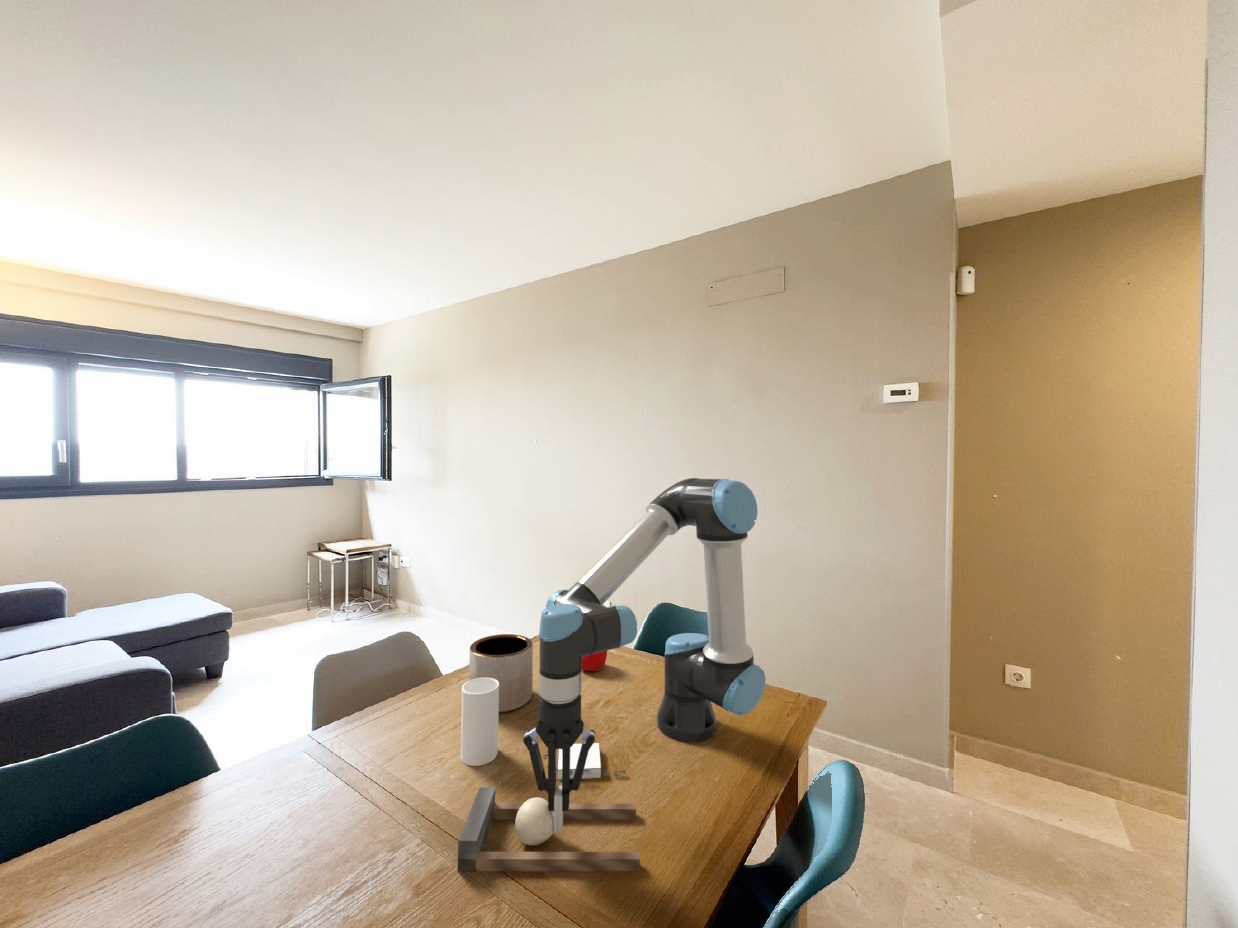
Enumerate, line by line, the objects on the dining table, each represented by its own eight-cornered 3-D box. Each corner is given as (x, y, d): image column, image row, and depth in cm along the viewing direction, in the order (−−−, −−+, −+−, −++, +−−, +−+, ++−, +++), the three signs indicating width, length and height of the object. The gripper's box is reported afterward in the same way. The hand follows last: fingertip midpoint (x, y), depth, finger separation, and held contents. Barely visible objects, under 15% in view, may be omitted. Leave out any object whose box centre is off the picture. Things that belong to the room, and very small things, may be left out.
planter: (545, 695, 138) (546, 641, 138) (499, 722, 123) (500, 662, 123) (501, 679, 148) (502, 629, 148) (454, 703, 133) (455, 647, 133)
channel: (635, 813, 92) (635, 787, 92) (639, 871, 79) (640, 840, 79) (479, 813, 91) (479, 787, 91) (457, 870, 78) (458, 840, 78)
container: (622, 751, 112) (622, 740, 112) (627, 784, 101) (627, 771, 101) (535, 755, 111) (535, 743, 111) (530, 788, 99) (530, 775, 99)
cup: (487, 768, 105) (488, 695, 105) (453, 762, 106) (454, 691, 106) (503, 746, 113) (505, 679, 113) (471, 742, 114) (473, 675, 114)
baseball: (533, 863, 80) (533, 823, 80) (508, 840, 85) (507, 803, 85) (564, 839, 85) (563, 802, 85) (538, 819, 90) (538, 784, 90)
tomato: (594, 678, 150) (595, 644, 150) (568, 670, 156) (569, 637, 156) (613, 667, 159) (613, 634, 159) (587, 659, 164) (588, 628, 164)
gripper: (596, 684, 89) (595, 811, 89) (527, 684, 89) (525, 812, 88) (595, 704, 81) (594, 843, 81) (520, 704, 81) (518, 843, 81)
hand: (558, 826), depth 85 cm, fingers closed
